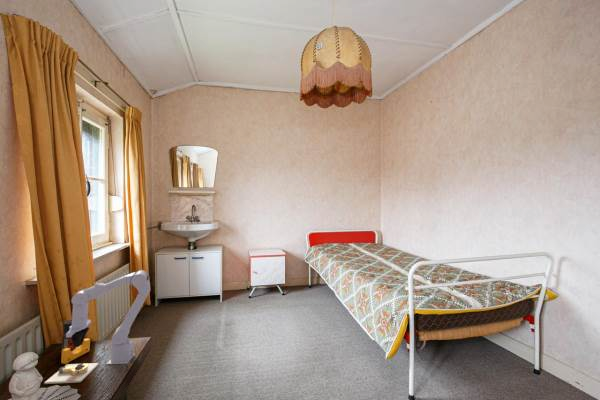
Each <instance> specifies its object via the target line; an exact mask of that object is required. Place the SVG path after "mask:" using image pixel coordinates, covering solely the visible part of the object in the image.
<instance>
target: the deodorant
mask: <svg viewBox="0 0 600 400" xmlns="http://www.w3.org/2000/svg"><path fill="white" fill-rule="evenodd" d="M62 324H63V325H62V340H61V351H62V350H63V349H65V348H70V350H71V351H73V350H74V349H75V348H76V347H74V345H73V341H72V339H71V338H70V337H66V333H67V332H68V331H69V330H70V329H69V327H70V326H72V319H68V320H66V321H63V323H62Z"/></svg>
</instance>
